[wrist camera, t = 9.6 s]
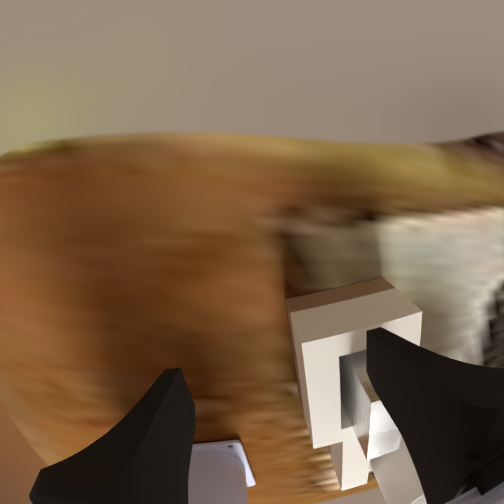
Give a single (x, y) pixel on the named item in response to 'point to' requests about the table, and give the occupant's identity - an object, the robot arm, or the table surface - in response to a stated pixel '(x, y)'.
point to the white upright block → (366, 408)
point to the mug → (398, 477)
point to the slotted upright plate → (327, 359)
